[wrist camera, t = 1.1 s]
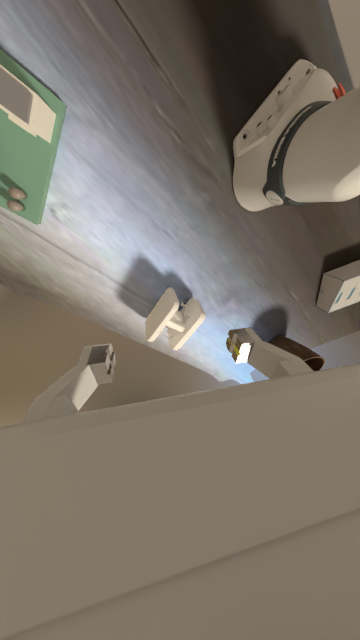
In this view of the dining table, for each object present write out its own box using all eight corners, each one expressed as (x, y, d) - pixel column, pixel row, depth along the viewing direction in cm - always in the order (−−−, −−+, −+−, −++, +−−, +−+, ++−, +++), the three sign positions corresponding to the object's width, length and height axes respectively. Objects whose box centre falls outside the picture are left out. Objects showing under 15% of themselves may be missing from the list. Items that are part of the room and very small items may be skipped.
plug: (17, 83, 24) (-18, 49, 19) (56, 114, 27) (35, 92, 21) (12, 120, 26) (-21, 98, 21) (49, 146, 28) (28, 133, 23)
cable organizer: (170, 281, 48) (177, 299, 39) (197, 297, 53) (209, 317, 44) (144, 318, 54) (145, 343, 44) (171, 330, 58) (176, 354, 49)
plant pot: (293, 344, 77) (323, 372, 64) (263, 358, 79) (287, 388, 66) (291, 323, 69) (326, 350, 56) (258, 339, 70) (284, 369, 57)
